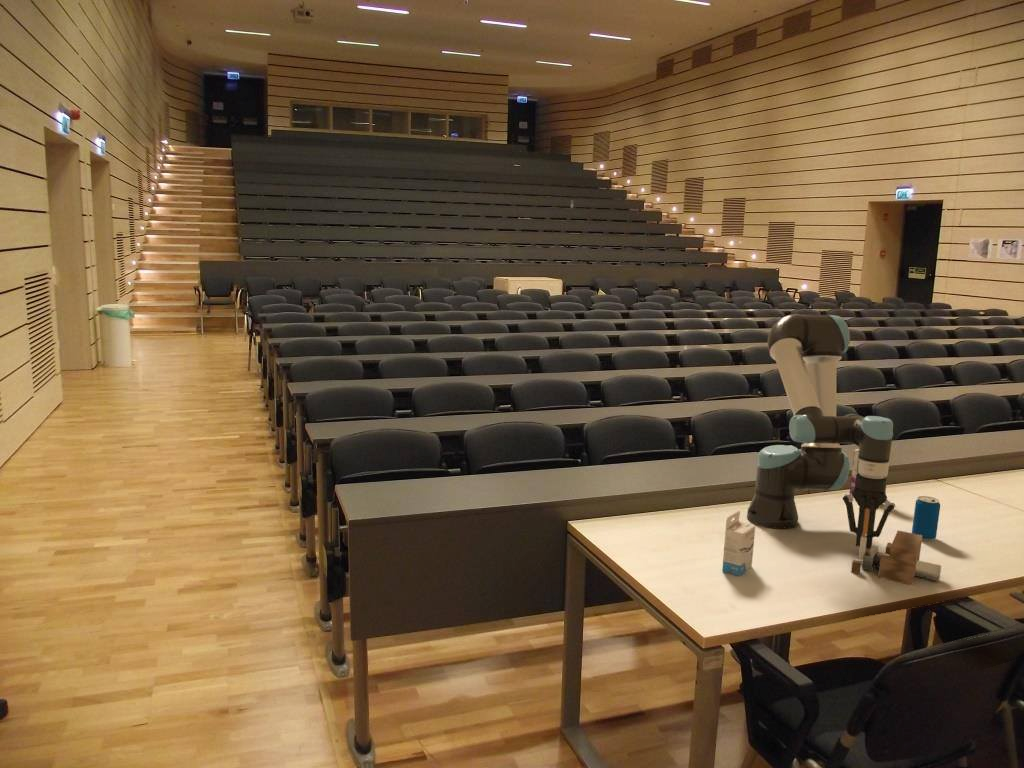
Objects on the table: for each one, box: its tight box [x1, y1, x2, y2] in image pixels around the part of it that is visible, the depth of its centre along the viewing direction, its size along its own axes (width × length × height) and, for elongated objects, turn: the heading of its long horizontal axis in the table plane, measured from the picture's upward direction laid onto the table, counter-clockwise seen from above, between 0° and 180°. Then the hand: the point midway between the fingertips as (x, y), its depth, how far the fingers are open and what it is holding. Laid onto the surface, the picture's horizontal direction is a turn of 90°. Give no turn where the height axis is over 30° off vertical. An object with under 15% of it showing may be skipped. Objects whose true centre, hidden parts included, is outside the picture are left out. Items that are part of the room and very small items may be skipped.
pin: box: [861, 545, 942, 582], centre depth 206 cm, size 18×9×4 cm, turn 57°
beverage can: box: [911, 495, 941, 542], centre depth 230 cm, size 6×6×12 cm
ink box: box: [721, 510, 756, 577], centre depth 204 cm, size 9×5×15 cm, turn 141°
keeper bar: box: [863, 508, 870, 534], centre depth 216 cm, size 3×15×1 cm
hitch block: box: [850, 530, 923, 586], centre depth 208 cm, size 15×16×9 cm
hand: (862, 558), depth 211 cm, fingers closed
